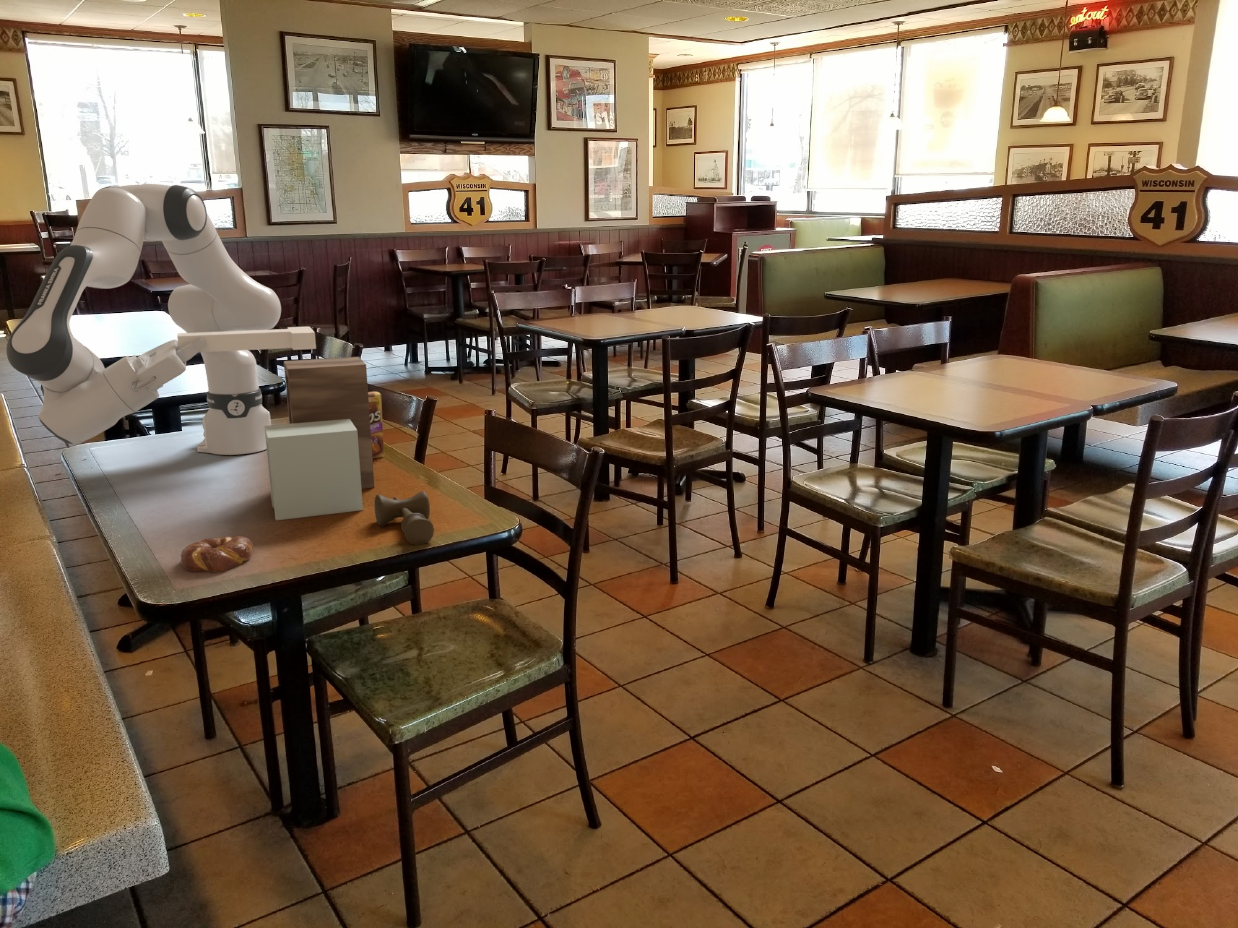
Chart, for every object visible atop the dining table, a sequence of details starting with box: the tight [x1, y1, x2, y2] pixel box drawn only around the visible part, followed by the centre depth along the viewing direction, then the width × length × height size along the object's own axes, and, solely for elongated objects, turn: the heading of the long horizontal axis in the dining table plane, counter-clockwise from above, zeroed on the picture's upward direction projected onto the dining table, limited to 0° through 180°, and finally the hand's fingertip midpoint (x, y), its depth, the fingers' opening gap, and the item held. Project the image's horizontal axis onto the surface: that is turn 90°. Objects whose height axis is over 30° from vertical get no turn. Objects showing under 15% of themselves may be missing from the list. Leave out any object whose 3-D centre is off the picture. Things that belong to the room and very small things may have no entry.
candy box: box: [368, 390, 385, 459], centre depth 217 cm, size 9×4×15 cm, turn 123°
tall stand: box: [283, 356, 375, 490], centre depth 195 cm, size 10×15×26 cm, turn 113°
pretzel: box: [180, 535, 254, 573], centre depth 157 cm, size 12×11×4 cm
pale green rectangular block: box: [264, 419, 364, 521], centre depth 182 cm, size 10×16×16 cm, turn 113°
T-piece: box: [176, 326, 317, 353], centre depth 173 cm, size 9×23×3 cm, turn 113°
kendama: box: [374, 491, 435, 546], centre depth 173 cm, size 6×10×20 cm
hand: (204, 339), depth 170 cm, fingers closed on T-piece, 4 cm apart
